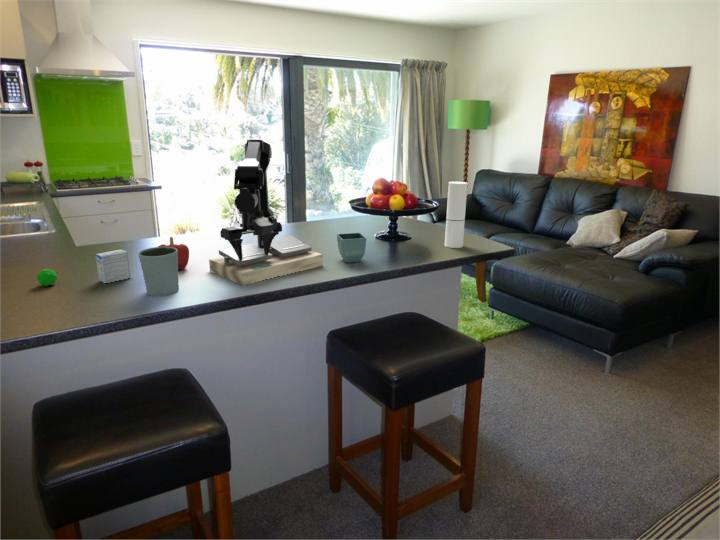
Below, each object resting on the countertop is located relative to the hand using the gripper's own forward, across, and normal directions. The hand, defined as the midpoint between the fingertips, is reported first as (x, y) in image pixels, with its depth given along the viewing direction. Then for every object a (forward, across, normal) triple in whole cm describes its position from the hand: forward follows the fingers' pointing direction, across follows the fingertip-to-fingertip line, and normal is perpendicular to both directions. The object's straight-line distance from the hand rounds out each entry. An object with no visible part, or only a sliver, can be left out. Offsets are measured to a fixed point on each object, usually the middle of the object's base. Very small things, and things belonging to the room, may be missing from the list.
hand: (253, 257), depth 151 cm
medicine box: (+6, -33, +26) cm, 42 cm away
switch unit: (+6, +8, +5) cm, 11 cm away
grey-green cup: (+6, -27, +6) cm, 28 cm away
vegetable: (+6, -15, +25) cm, 30 cm away
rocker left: (0, 0, +5) cm, 5 cm away
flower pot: (+7, +35, -7) cm, 36 cm away
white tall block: (+7, +80, -19) cm, 82 cm away
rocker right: (0, +16, +5) cm, 17 cm away
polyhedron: (+6, -49, +34) cm, 60 cm away
